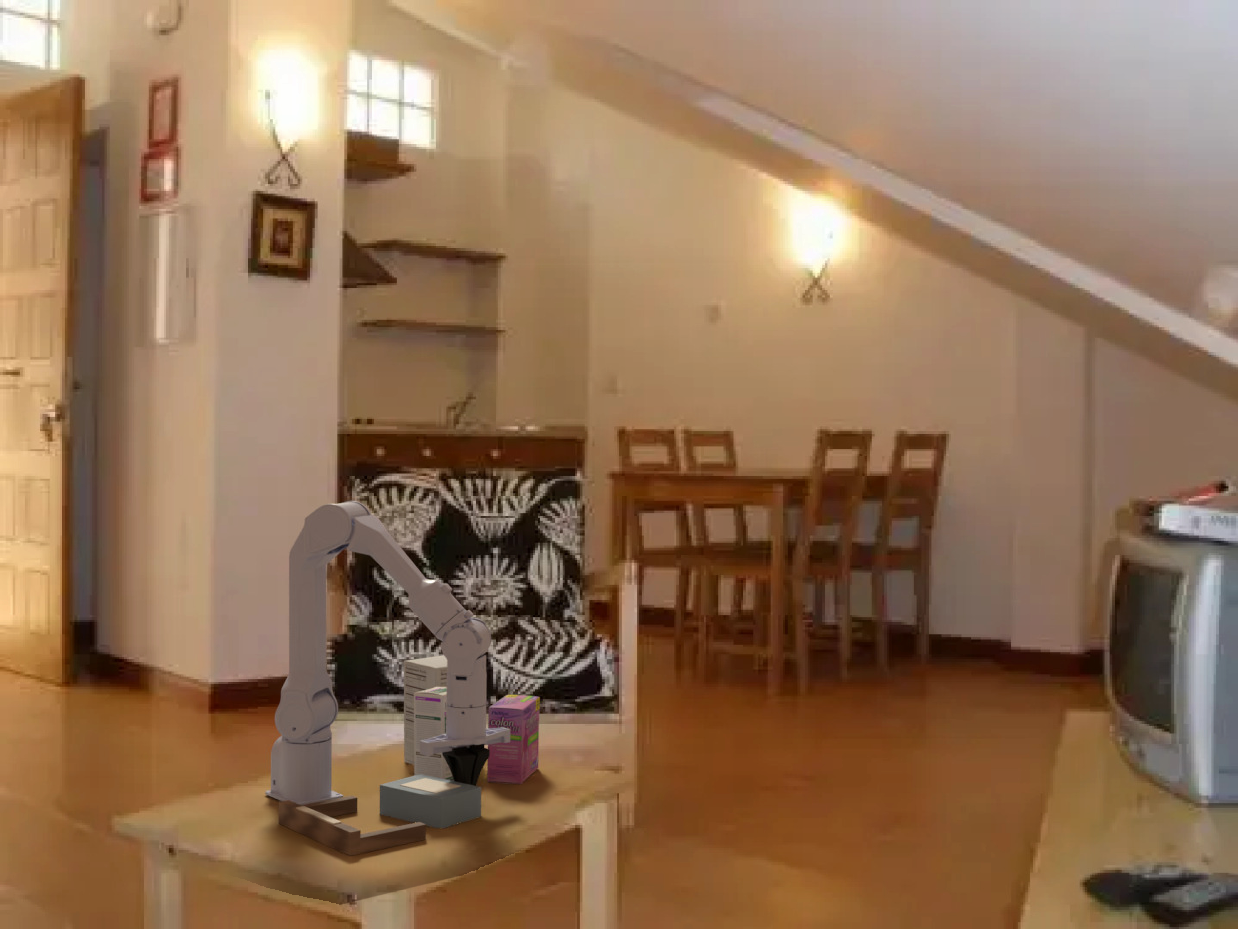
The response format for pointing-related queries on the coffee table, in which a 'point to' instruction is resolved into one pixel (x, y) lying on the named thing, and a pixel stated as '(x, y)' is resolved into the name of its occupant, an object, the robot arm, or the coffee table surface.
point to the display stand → (343, 826)
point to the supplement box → (418, 679)
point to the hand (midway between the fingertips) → (465, 798)
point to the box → (514, 739)
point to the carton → (430, 801)
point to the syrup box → (430, 731)
